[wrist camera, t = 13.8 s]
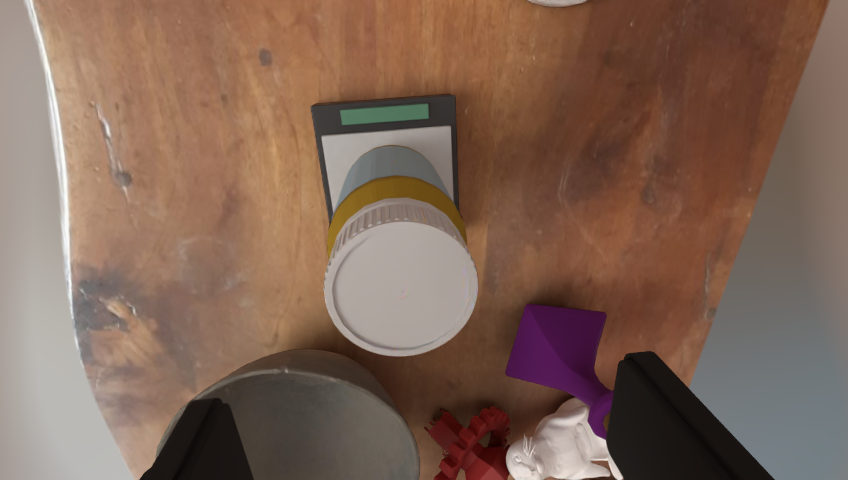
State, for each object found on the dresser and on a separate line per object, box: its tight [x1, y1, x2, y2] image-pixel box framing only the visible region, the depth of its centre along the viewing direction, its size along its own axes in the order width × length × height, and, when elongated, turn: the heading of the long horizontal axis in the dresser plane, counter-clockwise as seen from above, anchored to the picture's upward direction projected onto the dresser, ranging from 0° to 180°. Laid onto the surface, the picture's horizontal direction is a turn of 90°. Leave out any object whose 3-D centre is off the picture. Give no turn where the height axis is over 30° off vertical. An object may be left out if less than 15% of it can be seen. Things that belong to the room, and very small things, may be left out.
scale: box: [311, 94, 459, 223], centre depth 31 cm, size 11×10×3 cm
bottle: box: [324, 145, 478, 356], centre depth 23 cm, size 7×7×15 cm
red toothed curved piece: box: [424, 406, 511, 480], centre depth 41 cm, size 11×12×8 cm
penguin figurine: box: [506, 398, 623, 480], centre depth 39 cm, size 6×8×12 cm
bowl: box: [156, 349, 420, 480], centre depth 34 cm, size 19×19×10 cm
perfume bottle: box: [505, 304, 614, 440], centre depth 31 cm, size 8×8×18 cm
